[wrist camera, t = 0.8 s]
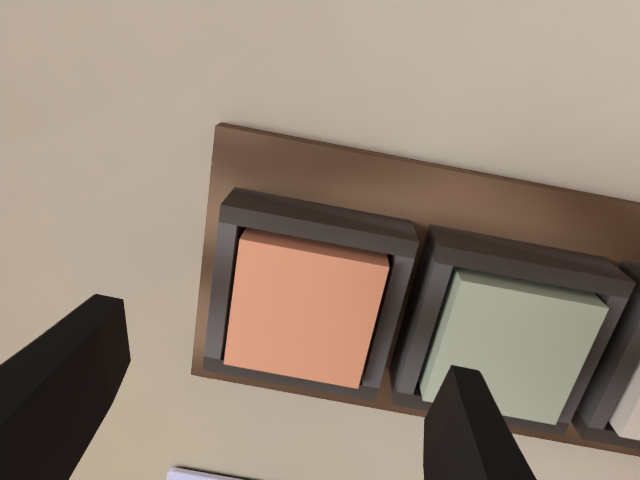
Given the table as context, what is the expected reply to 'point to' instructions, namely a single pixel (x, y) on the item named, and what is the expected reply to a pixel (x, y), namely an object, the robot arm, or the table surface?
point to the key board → (423, 262)
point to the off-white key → (628, 409)
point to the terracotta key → (303, 307)
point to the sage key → (513, 340)
